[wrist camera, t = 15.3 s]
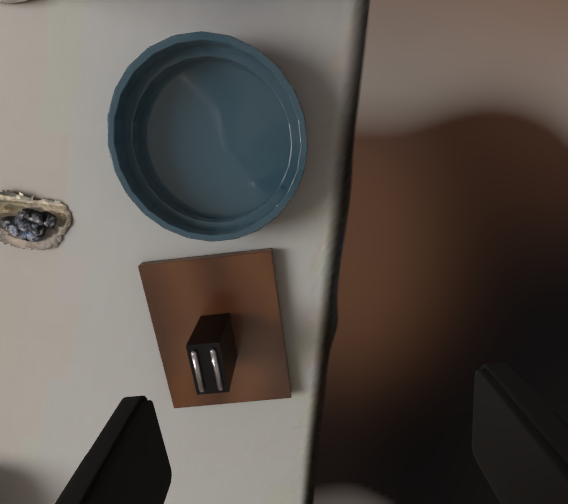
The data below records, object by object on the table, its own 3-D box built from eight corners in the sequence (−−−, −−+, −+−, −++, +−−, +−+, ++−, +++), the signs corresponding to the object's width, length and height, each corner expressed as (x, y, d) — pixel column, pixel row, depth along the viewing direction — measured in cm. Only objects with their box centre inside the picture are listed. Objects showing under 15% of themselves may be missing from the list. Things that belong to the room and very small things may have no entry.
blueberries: (-16, 193, 37) (-31, 196, 36) (58, 178, 37) (46, 180, 35) (11, 255, 39) (-2, 261, 38) (82, 242, 39) (72, 247, 37)
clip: (209, 359, 41) (195, 398, 35) (200, 315, 40) (184, 348, 34) (237, 356, 41) (228, 395, 35) (229, 312, 40) (218, 345, 33)
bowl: (149, 239, 39) (134, 250, 35) (106, 57, 33) (82, 47, 30) (313, 220, 38) (315, 230, 34) (294, 31, 33) (295, 17, 29)
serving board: (176, 401, 45) (173, 408, 44) (142, 262, 39) (137, 265, 38) (291, 391, 44) (291, 397, 43) (271, 247, 39) (271, 251, 37)
